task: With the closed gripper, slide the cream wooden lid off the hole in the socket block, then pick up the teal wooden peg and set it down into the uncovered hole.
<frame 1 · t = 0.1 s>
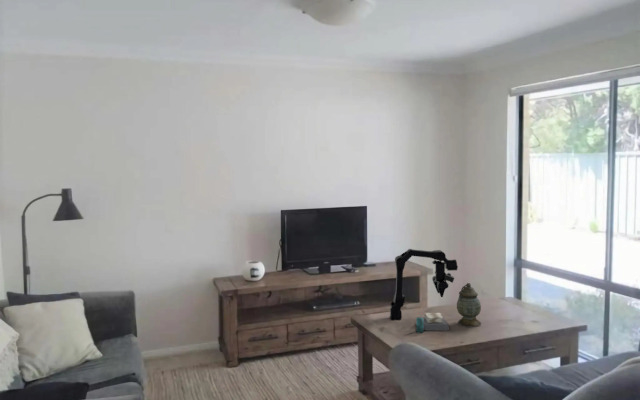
hand: (440, 295, 312), 15 cm above the table, fingers open, 9 cm apart
sliding lid: (433, 317, 297), point 5 cm above the table, slide at 0.0 cm
lidded ginger jar: (468, 323, 301), on the table
socket block: (433, 326, 297), on the table
teal peg: (419, 331, 288), on the table
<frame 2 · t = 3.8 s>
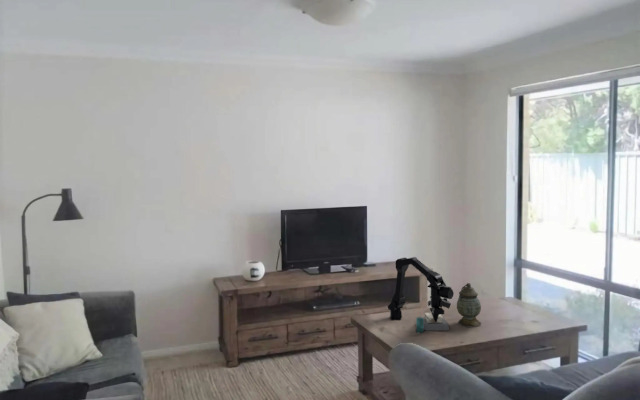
hand: (435, 321, 291), 5 cm above the table, fingers closed
sliding lid: (433, 317, 297), point 5 cm above the table, slide at 0.0 cm, touching gripper
everything else where it was.
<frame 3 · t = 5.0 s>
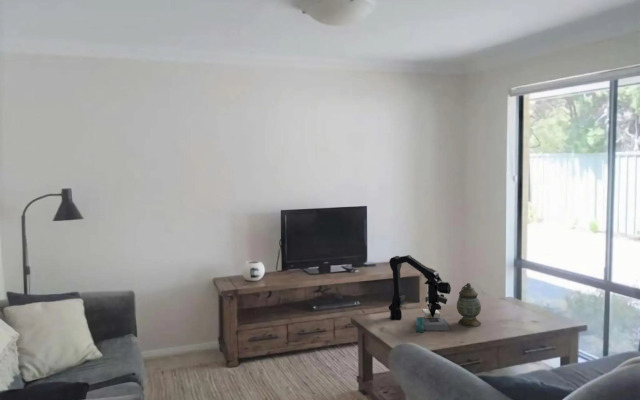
hand: (432, 316, 299), 5 cm above the table, fingers closed
sliding lid: (431, 313, 305), point 5 cm above the table, slide at 8.4 cm, touching gripper
everything else where it was.
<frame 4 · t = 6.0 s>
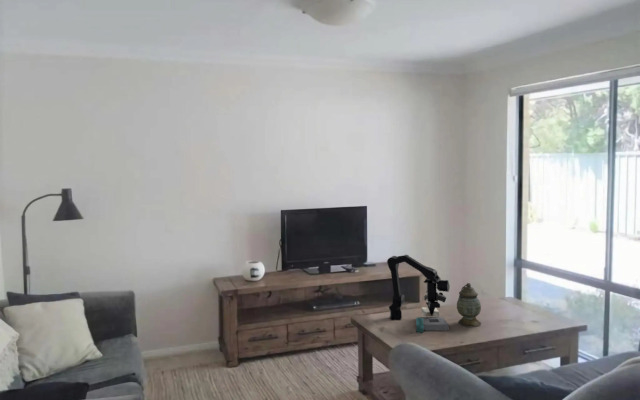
hand: (431, 315, 303), 5 cm above the table, fingers closed
sliding lid: (430, 311, 308), point 5 cm above the table, slide at 11.7 cm, touching gripper
everything else where it was.
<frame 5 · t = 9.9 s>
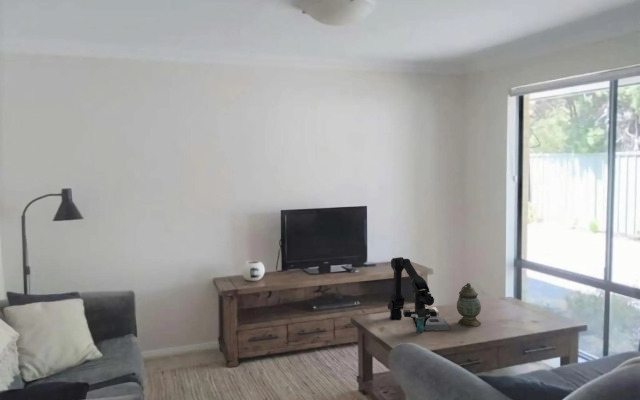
hand: (419, 327, 288), 3 cm above the table, fingers closed on teal peg, 4 cm apart
sliding lid: (430, 311, 308), point 5 cm above the table, slide at 11.7 cm
teal peg: (419, 331, 288), on the table, touching gripper
everything else where it was.
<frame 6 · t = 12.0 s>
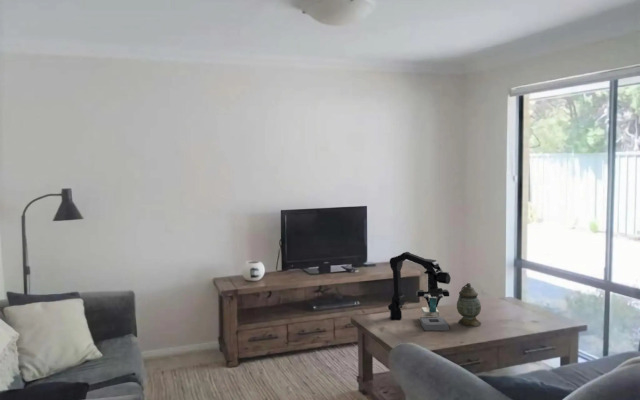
hand: (432, 307, 295), 12 cm above the table, fingers closed on teal peg, 4 cm apart
teal peg: (432, 311, 296), point 9 cm above the table, touching gripper
everything else where it was.
when the fingers open (5 cm above the table, at t = 14.1 s): teal peg drops 1 cm, resting on socket block.
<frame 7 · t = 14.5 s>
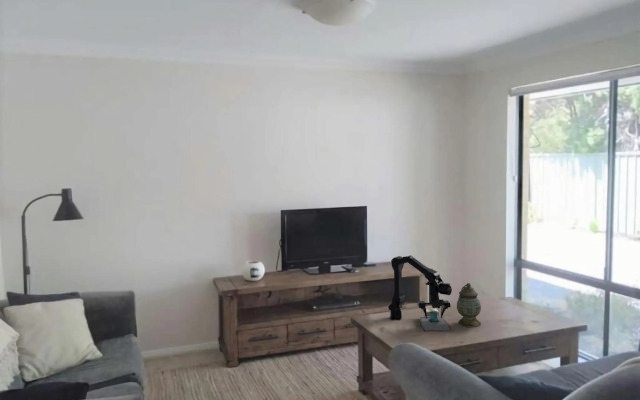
hand: (433, 318, 297), 5 cm above the table, fingers open, 9 cm apart
teal peg: (433, 324, 297), point 1 cm above the table, touching socket block
everything else where it was.
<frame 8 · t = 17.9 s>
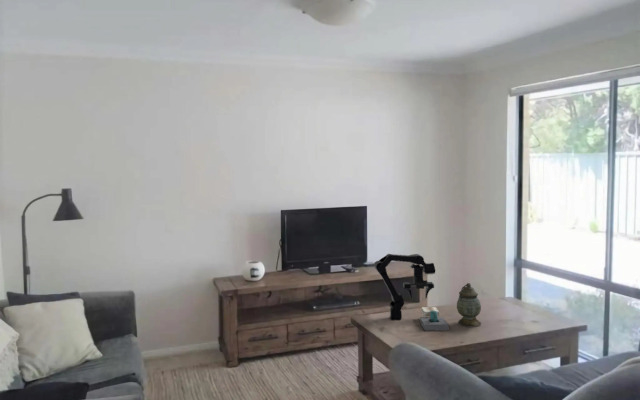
hand: (418, 298, 314), 12 cm above the table, fingers open, 9 cm apart
nothing on the table moved.
at the end: teal peg 0.0 cm off-centre on the socket block, point 1.0 cm above the socket block's base; teal peg tilted 0°; sliding lid slide at 11.7 cm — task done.
